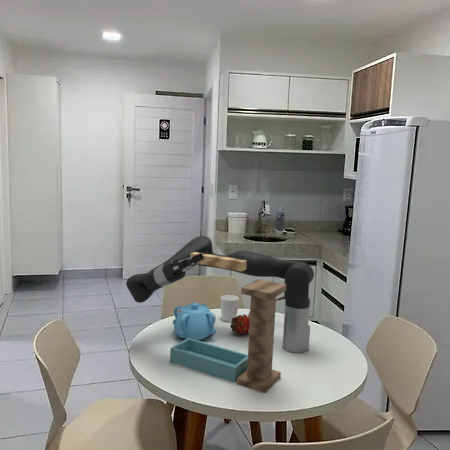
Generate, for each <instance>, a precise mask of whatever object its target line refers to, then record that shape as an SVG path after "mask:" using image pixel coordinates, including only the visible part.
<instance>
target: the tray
mask: <svg viewBox="0 0 450 450" xmlns="http://www.w3.org/2000/svg"><path fill="white" fill-rule="evenodd" d="M169 350H170V351H169V352H170V353H169V354H170V355H169V362H171V363H173V364H176V365H179V366H183V367H185V368H186V367H187V368H189V369H193V370H194V371H197V372H202V373H203V374H207V375H210V376H212V377H216V378H219V379H223V380H226V381H229V382H232V383H237V378H238V377H239V376H240V375H241V374H243V373H244V372H245V371H246V370H247V364H248V353H243V352H239V351H237V350H232V349H229V348H226V347H222V346H219V345H215V344H212V343H209V342H204V341H201V340H200V341H198V340H194V339H191V338H187V339H185V338H184V340H182V341H180V342H179V343H177V344H175V345H173V346H172V347H170V349H169Z"/></svg>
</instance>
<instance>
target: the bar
mask: <svg viewBox="0 0 450 450" xmlns="http://www.w3.org/2000/svg"><path fill="white" fill-rule="evenodd" d="M198 254H200V253H198V252H194V253H191V254H190V257H192V258H193V257H194V256H196V255H198ZM202 254H203V257H204V259H203V260H201V261H199V262H197V264H203V265H209V266H214V267H220V268H219V269H221V268H226V269H231V270H237V271H244V270H246V264H247V260H241V259H235V258H229V257H222V256H216V255H210V254H204V253H202ZM214 267H213V268H214ZM226 269H225V270H226Z"/></svg>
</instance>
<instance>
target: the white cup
mask: <svg viewBox="0 0 450 450" xmlns="http://www.w3.org/2000/svg"><path fill="white" fill-rule="evenodd" d="M239 299H240V297H238V296H237V295H233V294H224V295H221V296H220V313H221V314H220V315H221V320H222V321H224V322H230V323H232V318H236V317H237V316H238V311H239V310H238V309H239V301H240V300H239Z"/></svg>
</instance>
